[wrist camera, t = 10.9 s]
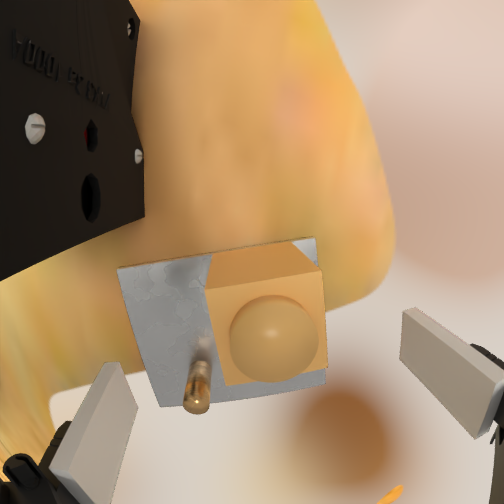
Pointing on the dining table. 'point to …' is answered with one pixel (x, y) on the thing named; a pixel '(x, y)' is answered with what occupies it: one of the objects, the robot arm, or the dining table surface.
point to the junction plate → (189, 327)
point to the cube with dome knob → (267, 313)
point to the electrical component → (66, 126)
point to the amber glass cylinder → (198, 388)
